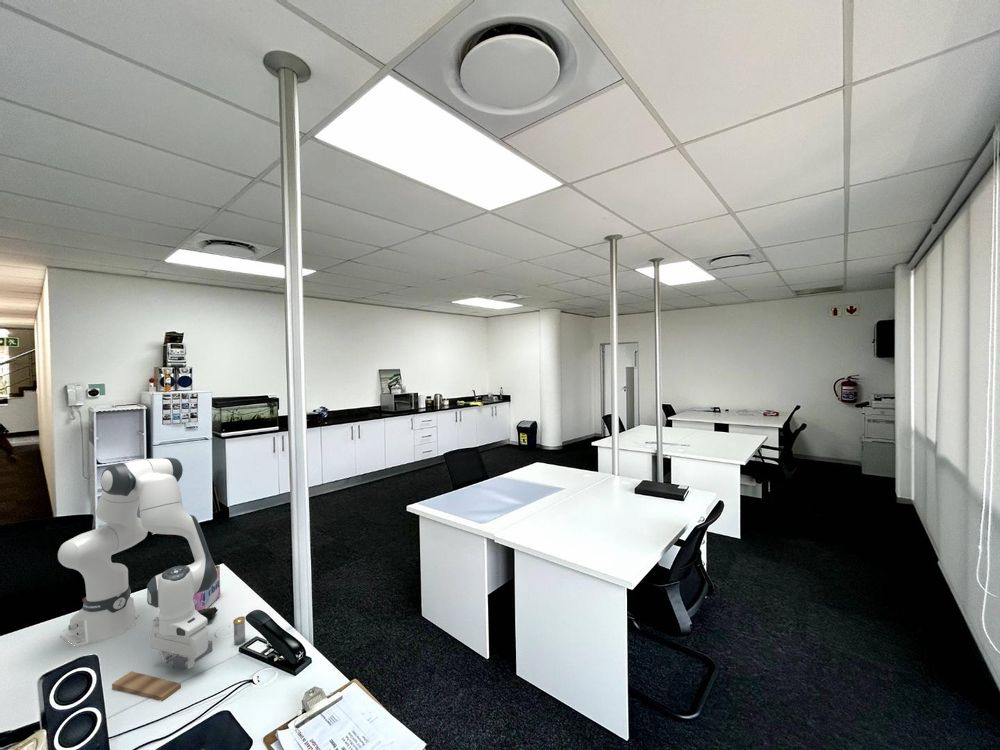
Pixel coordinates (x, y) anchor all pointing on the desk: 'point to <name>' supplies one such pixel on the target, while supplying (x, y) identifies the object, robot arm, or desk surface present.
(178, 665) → the block
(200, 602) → the gum box
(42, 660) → the desk surface
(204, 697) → the desk surface
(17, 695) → the desk surface
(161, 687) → the strip
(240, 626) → the grey metal cylinder
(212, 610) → the tape measure
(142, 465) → the robot arm
